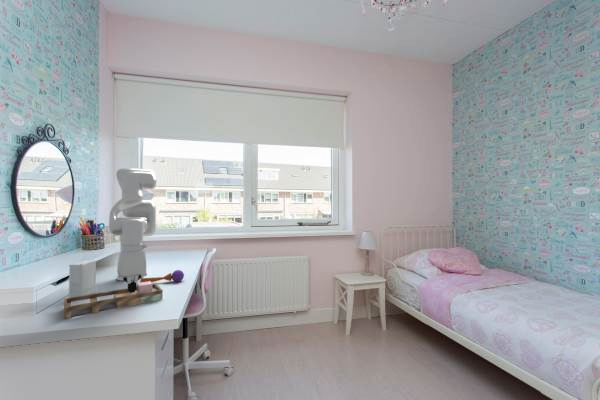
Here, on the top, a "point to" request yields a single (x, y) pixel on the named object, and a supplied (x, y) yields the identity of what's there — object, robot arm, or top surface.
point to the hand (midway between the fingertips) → (132, 291)
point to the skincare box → (82, 278)
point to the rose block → (144, 287)
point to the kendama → (166, 277)
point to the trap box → (109, 301)
